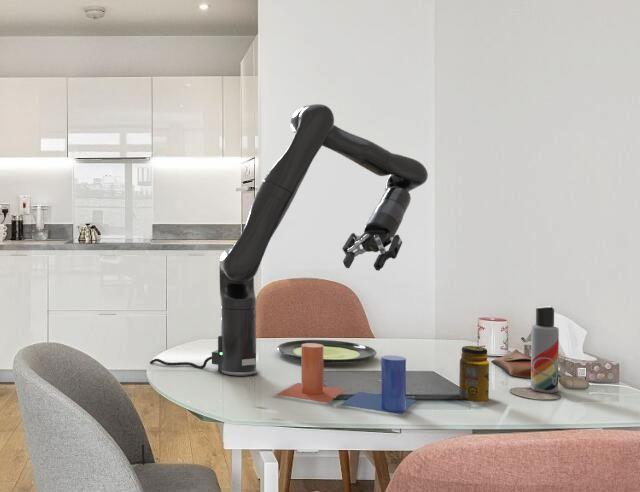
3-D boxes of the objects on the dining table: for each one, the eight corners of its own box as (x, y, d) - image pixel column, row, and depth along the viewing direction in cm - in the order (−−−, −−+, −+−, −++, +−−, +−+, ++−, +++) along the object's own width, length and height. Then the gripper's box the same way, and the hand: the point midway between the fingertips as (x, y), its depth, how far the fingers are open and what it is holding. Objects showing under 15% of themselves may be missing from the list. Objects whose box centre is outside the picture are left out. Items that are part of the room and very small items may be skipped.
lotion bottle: (548, 394, 167) (549, 309, 167) (525, 388, 172) (526, 305, 172) (563, 391, 170) (564, 307, 169) (540, 385, 175) (541, 304, 174)
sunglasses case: (487, 360, 201) (501, 340, 200) (510, 373, 200) (523, 353, 199) (511, 375, 183) (526, 353, 182) (536, 390, 182) (551, 368, 182)
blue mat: (340, 407, 157) (340, 404, 157) (358, 394, 168) (358, 391, 167) (401, 417, 149) (401, 414, 149) (416, 402, 160) (416, 399, 160)
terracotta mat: (276, 397, 165) (276, 394, 165) (297, 385, 176) (297, 382, 176) (327, 405, 158) (327, 402, 158) (345, 392, 169) (345, 389, 169)
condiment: (497, 402, 161) (497, 348, 161) (475, 407, 156) (475, 353, 156) (467, 394, 167) (467, 343, 167) (445, 400, 162) (445, 347, 162)
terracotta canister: (298, 392, 166) (298, 345, 166) (306, 388, 171) (306, 342, 170) (318, 396, 164) (319, 348, 163) (326, 391, 168) (326, 344, 168)
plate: (392, 356, 209) (392, 347, 209) (350, 373, 188) (350, 363, 188) (306, 343, 227) (306, 335, 227) (259, 357, 207) (259, 349, 206)
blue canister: (378, 409, 153) (378, 358, 152) (384, 404, 157) (384, 354, 157) (402, 413, 150) (402, 361, 150) (408, 408, 154) (408, 357, 154)
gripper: (355, 210, 190) (330, 255, 183) (405, 211, 180) (381, 258, 172) (366, 230, 194) (342, 275, 187) (415, 231, 183) (392, 279, 176)
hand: (360, 267), depth 180 cm, fingers open, 8 cm apart
